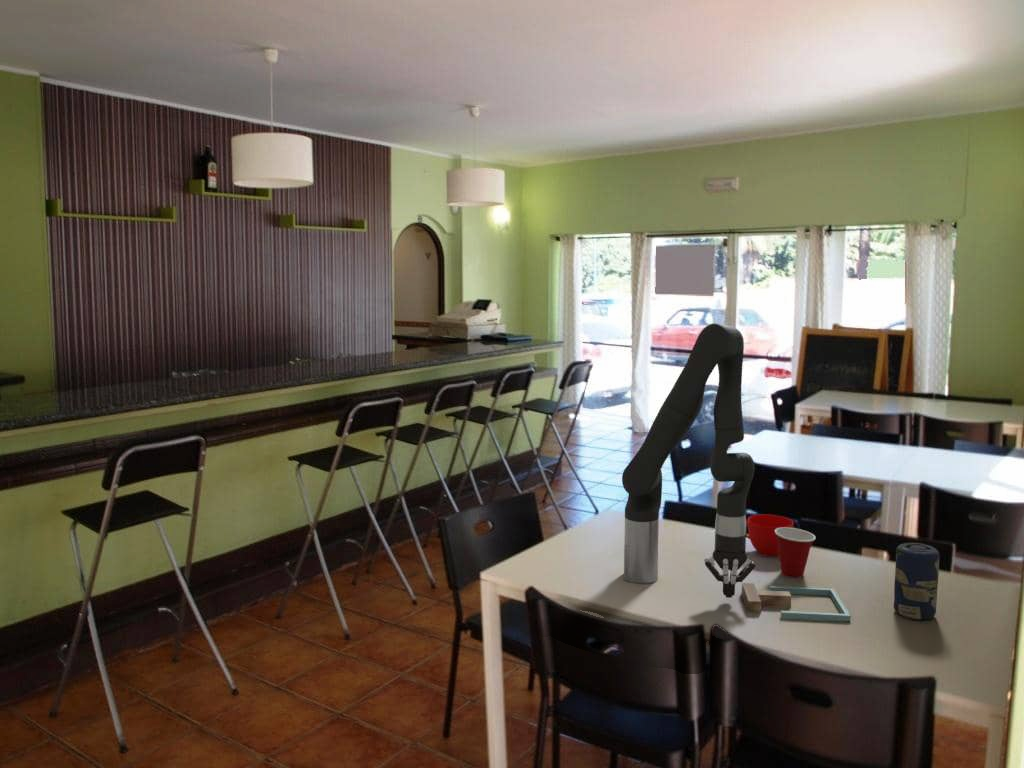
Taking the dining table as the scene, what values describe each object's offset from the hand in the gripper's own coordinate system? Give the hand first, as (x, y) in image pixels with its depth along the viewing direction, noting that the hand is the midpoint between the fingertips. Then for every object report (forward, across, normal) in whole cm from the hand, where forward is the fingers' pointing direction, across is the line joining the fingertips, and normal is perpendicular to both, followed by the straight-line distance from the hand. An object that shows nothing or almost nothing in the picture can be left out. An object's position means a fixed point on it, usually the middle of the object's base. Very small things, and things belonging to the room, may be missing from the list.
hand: (728, 596), depth 209 cm
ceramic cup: (+2, +14, +40) cm, 42 cm away
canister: (+2, +44, -1) cm, 44 cm away
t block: (+2, +10, 0) cm, 10 cm away
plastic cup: (+2, +20, +22) cm, 30 cm away
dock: (+2, +19, 0) cm, 19 cm away
